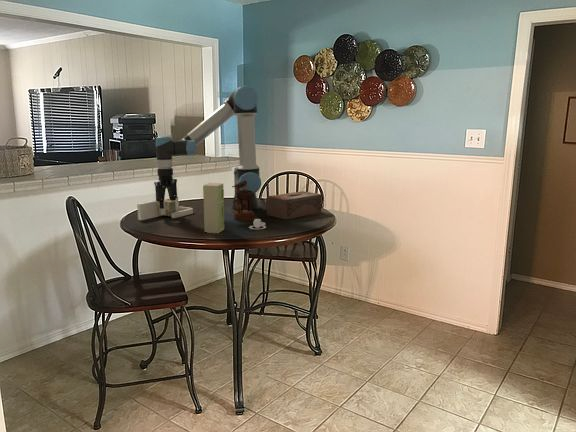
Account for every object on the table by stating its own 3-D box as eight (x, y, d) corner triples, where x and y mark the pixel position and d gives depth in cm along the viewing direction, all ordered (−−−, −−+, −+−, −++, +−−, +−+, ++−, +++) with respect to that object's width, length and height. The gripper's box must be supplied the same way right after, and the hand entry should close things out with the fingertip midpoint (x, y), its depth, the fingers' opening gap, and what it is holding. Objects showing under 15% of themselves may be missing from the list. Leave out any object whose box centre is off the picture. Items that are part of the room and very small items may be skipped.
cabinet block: (176, 214, 239) (175, 200, 238) (169, 215, 235) (168, 202, 234) (166, 212, 243) (165, 199, 241) (159, 214, 239) (158, 200, 237)
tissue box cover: (285, 219, 233) (285, 200, 231) (266, 215, 244) (266, 196, 242) (321, 212, 250) (321, 194, 248) (302, 209, 261) (302, 191, 259)
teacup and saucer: (262, 225, 222) (262, 216, 221) (270, 228, 216) (270, 219, 215) (245, 227, 217) (245, 218, 217) (254, 231, 211) (253, 222, 210)
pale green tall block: (220, 233, 205) (218, 185, 200) (204, 232, 206) (202, 185, 202) (226, 229, 212) (224, 183, 208) (210, 228, 214) (209, 182, 209)
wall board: (194, 213, 248) (194, 198, 246) (155, 222, 225) (154, 206, 223) (178, 210, 254) (177, 196, 253) (138, 220, 231) (137, 204, 229)
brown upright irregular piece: (245, 222, 225) (241, 181, 222) (227, 221, 231) (224, 182, 228) (263, 217, 238) (260, 178, 235) (246, 216, 244) (243, 178, 240)
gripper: (172, 165, 244) (174, 210, 248) (145, 169, 228) (149, 216, 233) (183, 166, 240) (185, 211, 245) (156, 170, 225) (159, 217, 229)
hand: (167, 213), depth 239 cm, fingers closed on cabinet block, 5 cm apart
